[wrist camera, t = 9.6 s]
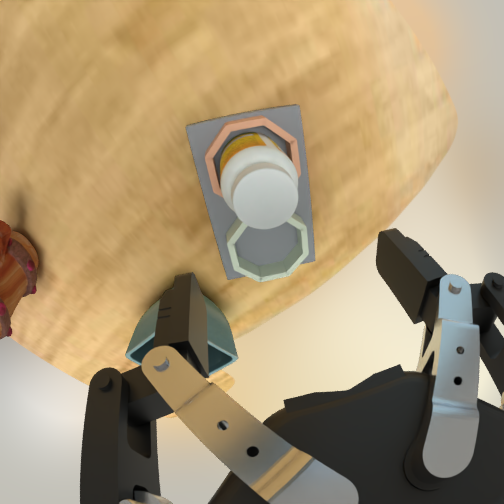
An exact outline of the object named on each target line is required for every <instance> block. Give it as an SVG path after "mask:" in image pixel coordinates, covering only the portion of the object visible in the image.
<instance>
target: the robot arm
mask: <svg viewBox="0 0 504 504" xmlns="http://www.w3.org/2000/svg"><path fill="white" fill-rule="evenodd" d="M376 266H377V270H378V272H379V274H380V275H381V277H382V278H383V279H384V281H385V282H386V284H387V285H388V286H389V287H390V289H391V291H392V292H393V293H394V295H395V296H396V298H397V299H398V301H399V302H400V304H401V305H402V307H403V308H404V310H405V311H406V313H407V314H408V316H409V317H410V319H411V320H412V322H413V323H414V324H417V323H419V322H422V321H424V322H425V327H424V331H423V338H422V345H421V351H420V357H419V363H418V366H417V369H416V372H415V371H403V370H402V368H401V366H400V364H399V365H397V366H394V367H392V368H389V369H386V370H384V371H381V372H378V373H375V374H373V375H372V376H370V377H369V378H367V379H366V380H364V381H363V382H361V383H359V384H358V385H356V386H354V387H353V388H351V389H349V390H346V391H335V392H314V393H310V394H307V395H303V396H298V397H295V398H290V399H286V400H284V404H285V408H283V409H281V410H279V411H277V412H276V413H274V414H272V415H271V416H270V417H268V418H267V419H266V420H265V421H264V422H263V423H261V422H260V421H259V420H257V419H256V418H255V417H254V416H252V415H251V414H250V413H249V412H248V411H246V410H245V409H244V408H243V407H241V406H240V405H239V404H238V403H237V402H236V401H234V400H233V399H232V398H231V397H230V396H229V395H228V394H226V393H225V392H224V391H223V390H222V389H221V388H220V387H218V386H217V385H216V384H214V383H209V382H208V381H207V380H206V379H205V378H209V365H208V338H207V310H206V305H205V301H204V298H203V295H202V293H201V290H200V287H199V285H198V282H197V279H196V277H195V274H194V273H193V272H191V273H186V274H182V275H177V276H175V280H174V288H173V289H170V290H166V291H165V293H164V294H163V296H162V297H161V299H160V303H159V309H158V310H159V311H158V316H157V318H158V319H157V322H156V329H155V336H154V344H153V349H152V350H150V351H149V352H148V353H147V354H146V355H145V357H144V358H143V360H142V365H140V366H138V367H136V368H134V369H132V370H129V371H127V372H124V373H122V374H121V373H120V372H119V371H118V370H116V369H115V368H104V369H102V370H100V371H98V372H97V373H96V374H95V375H94V376H93V378H92V379H91V382H90V385H89V392H88V398H87V405H86V413H85V421H84V430H83V440H82V453H81V473H80V504H173V503H172V502H171V501H169V500H168V499H166V498H163V497H161V494H160V484H159V470H158V454H157V431H156V430H157V429H156V419H158V418H161V417H163V416H166V415H168V414H171V413H173V412H175V413H176V415H177V416H178V417H179V418H180V419H181V420H182V422H183V423H184V424H185V425H186V426H187V427H188V428H189V429H190V430H191V431H192V432H193V433H194V434H195V436H196V437H197V438H198V439H199V440H200V441H201V442H202V443H203V444H204V445H205V446H206V447H207V448H208V449H209V450H210V451H211V452H212V453H213V454H214V455H215V456H216V457H217V458H218V459H219V460H220V461H221V462H222V463H224V464H225V465H226V466H227V467H228V468H229V469H230V470H231V471H230V472H229V474H228V475H227V477H226V478H225V480H224V481H223V483H222V484H221V486H220V487H219V489H218V490H217V491H216V493H215V494H214V496H213V497H212V499H211V500H210V501H209V503H208V504H504V338H503V336H502V335H501V333H500V332H499V330H498V329H497V327H496V326H495V324H494V322H495V320H496V318H497V316H498V318H499V319H500V321H501V322H502V324H503V325H504V277H503V276H502V275H500V274H498V273H493V272H492V273H488V274H486V275H485V277H484V280H483V282H482V283H479V284H469V283H468V282H467V281H466V280H465V279H464V278H462V277H461V276H458V275H454V274H449V275H448V274H447V273H446V272H445V271H444V270H443V269H442V268H441V267H440V265H439V264H438V263H437V262H436V261H435V260H434V259H433V258H432V257H431V256H429V254H428V253H427V252H426V251H425V250H424V249H423V248H422V247H421V246H420V245H419V244H418V243H417V242H416V241H414V240H412V239H410V238H409V237H404V235H402V233H400V231H399V230H397V229H396V228H394V229H389V230H385V231H381V232H379V235H378V244H377V255H376ZM480 357H481V359H482V361H483V362H484V364H485V366H486V368H487V369H488V371H489V373H490V375H491V377H492V379H493V381H494V383H495V385H496V386H497V389H498V391H499V392H500V394H501V404H502V405H501V406H500V408H498V407H496V406H494V405H491V404H489V403H487V402H485V401H483V400H480V399H478V398H477V395H478V383H479V362H480Z"/></svg>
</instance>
